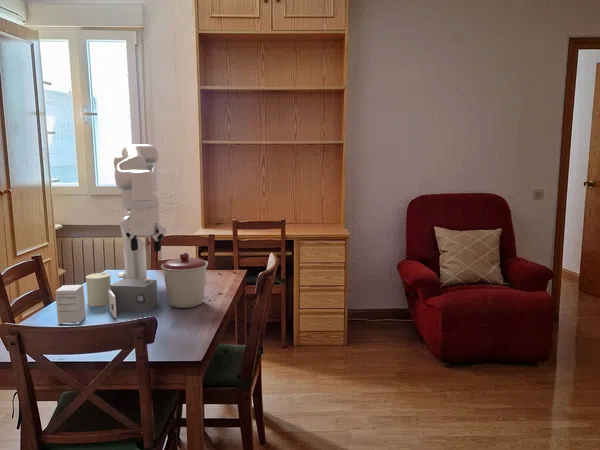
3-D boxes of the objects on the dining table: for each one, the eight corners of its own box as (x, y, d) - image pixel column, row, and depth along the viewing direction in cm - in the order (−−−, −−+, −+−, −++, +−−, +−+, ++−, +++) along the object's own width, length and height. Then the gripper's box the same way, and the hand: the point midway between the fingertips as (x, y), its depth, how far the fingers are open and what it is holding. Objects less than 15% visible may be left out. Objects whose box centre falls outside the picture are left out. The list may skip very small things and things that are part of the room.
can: (117, 300, 197) (115, 272, 195) (101, 307, 189) (98, 278, 187) (98, 298, 200) (97, 270, 198) (82, 305, 192) (80, 276, 190)
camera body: (110, 311, 184) (108, 284, 182) (125, 302, 195) (123, 276, 193) (145, 313, 181) (143, 285, 180) (158, 304, 192) (157, 278, 191)
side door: (107, 310, 184) (106, 289, 183) (112, 309, 185) (110, 288, 184) (112, 318, 175) (111, 296, 174) (117, 317, 176) (115, 295, 175)
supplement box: (65, 318, 177) (63, 284, 175) (86, 317, 177) (83, 284, 176) (57, 325, 170) (54, 290, 168) (79, 324, 170) (76, 290, 168)
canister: (160, 301, 197) (157, 250, 194) (204, 295, 204) (202, 247, 201) (166, 314, 180) (163, 259, 177) (214, 308, 187) (212, 255, 184)
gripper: (116, 205, 174) (119, 251, 177) (158, 206, 170) (161, 253, 172) (129, 203, 181) (132, 248, 184) (169, 204, 177) (172, 249, 179)
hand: (146, 250), depth 178 cm, fingers open, 9 cm apart
